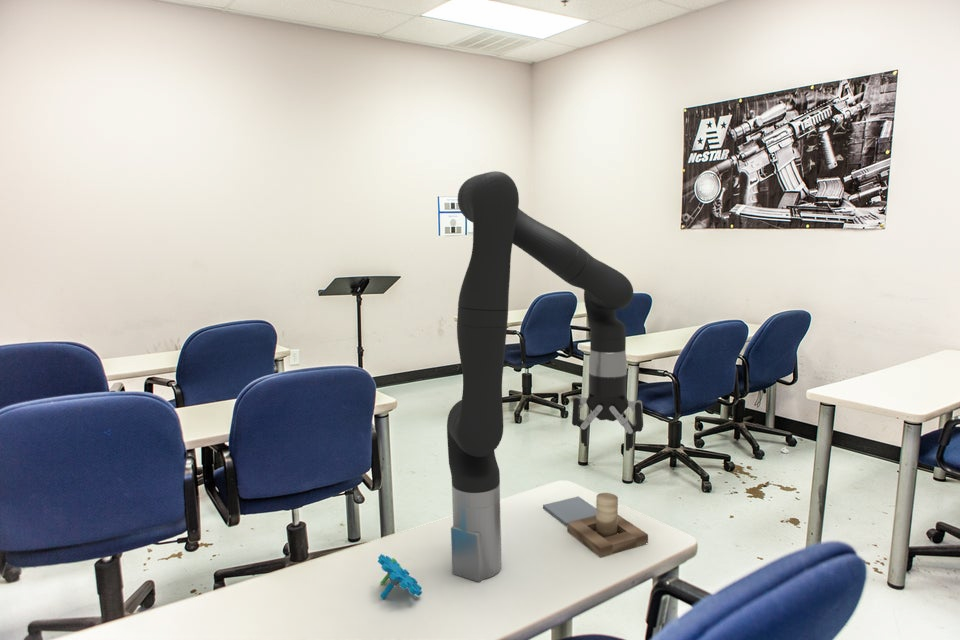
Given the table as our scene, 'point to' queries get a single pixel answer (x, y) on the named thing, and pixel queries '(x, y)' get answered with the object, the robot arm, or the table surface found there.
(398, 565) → the blue branched plastic piece
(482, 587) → the table surface
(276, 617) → the table surface
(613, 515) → the peg
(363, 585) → the table surface
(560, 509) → the mat
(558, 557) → the table surface
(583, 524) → the pocket block
